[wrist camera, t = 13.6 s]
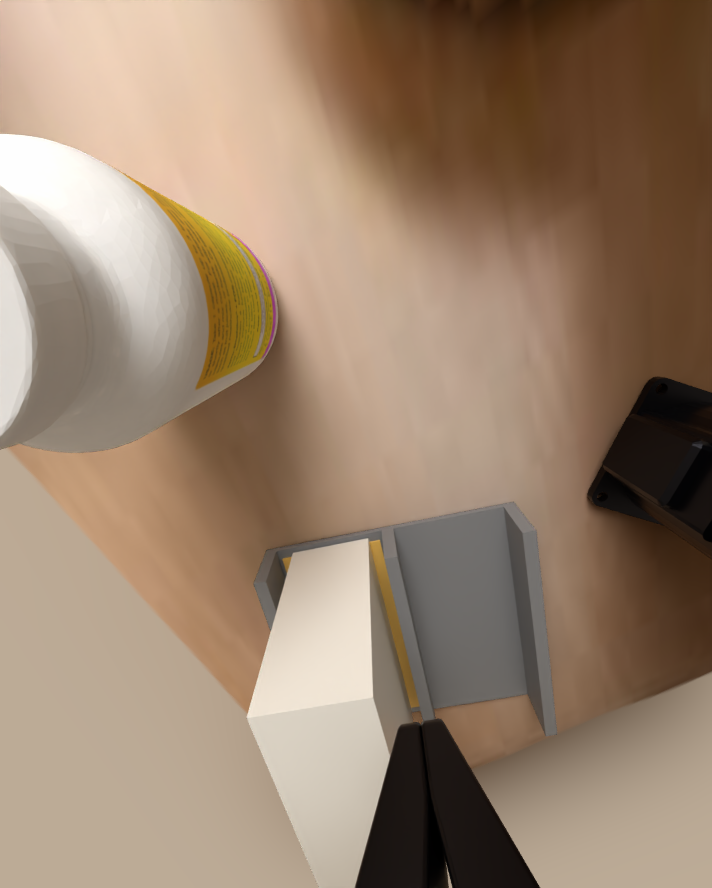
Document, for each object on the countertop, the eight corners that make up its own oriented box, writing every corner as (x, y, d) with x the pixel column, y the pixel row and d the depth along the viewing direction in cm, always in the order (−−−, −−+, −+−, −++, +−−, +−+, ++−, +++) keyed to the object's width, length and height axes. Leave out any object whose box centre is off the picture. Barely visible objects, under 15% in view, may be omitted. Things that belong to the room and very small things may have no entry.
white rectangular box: (368, 538, 21) (372, 697, 12) (411, 709, 24) (438, 923, 16) (292, 552, 21) (246, 717, 13) (346, 719, 25) (339, 935, 16)
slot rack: (513, 501, 21) (544, 540, 17) (535, 688, 24) (564, 750, 21) (265, 550, 22) (247, 595, 18) (324, 721, 25) (318, 785, 22)
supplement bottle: (210, 187, 16) (-234, -168, 4) (312, 326, 18) (208, 362, 6) (96, 292, 18) (-497, 256, 5) (200, 413, 19) (-74, 591, 7)
